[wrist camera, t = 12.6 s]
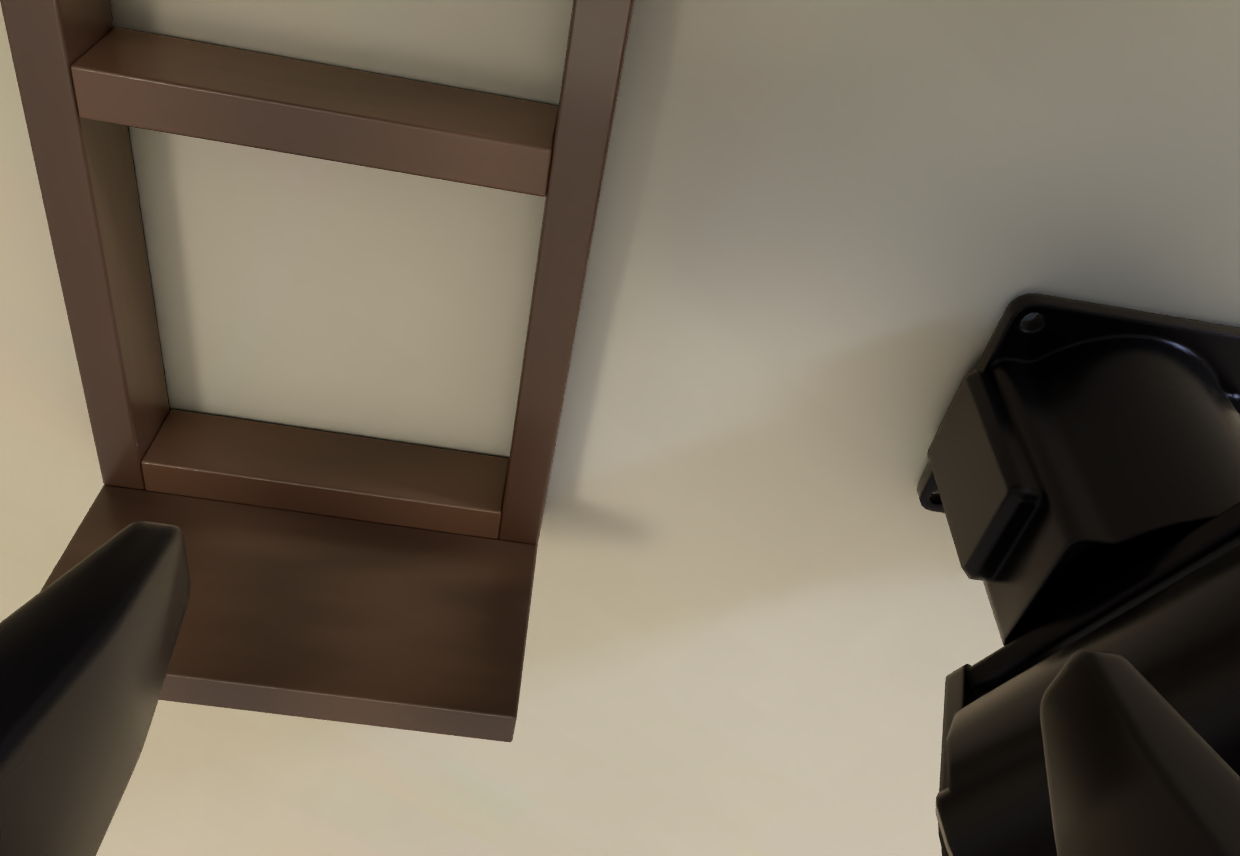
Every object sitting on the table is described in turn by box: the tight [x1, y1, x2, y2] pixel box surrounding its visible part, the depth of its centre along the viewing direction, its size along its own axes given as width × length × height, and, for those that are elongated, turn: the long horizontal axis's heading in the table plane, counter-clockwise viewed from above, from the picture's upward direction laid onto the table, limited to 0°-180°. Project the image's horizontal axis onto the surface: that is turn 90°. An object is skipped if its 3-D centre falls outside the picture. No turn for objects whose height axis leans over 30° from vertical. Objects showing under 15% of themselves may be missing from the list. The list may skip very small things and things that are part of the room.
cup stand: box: [0, 0, 634, 742], centre depth 18 cm, size 11×21×7 cm, turn 170°
